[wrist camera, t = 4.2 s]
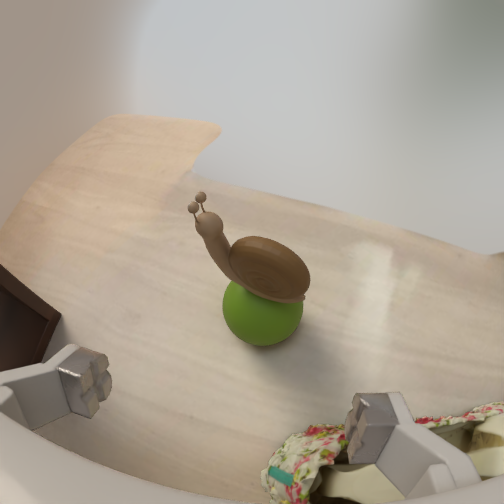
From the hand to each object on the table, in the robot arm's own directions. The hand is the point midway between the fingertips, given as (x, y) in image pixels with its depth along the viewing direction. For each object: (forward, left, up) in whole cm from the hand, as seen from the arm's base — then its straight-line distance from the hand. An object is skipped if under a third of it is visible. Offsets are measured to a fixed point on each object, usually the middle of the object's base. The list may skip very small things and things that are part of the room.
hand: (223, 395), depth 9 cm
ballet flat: (+13, -8, -13) cm, 20 cm away
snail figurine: (+2, +7, -13) cm, 15 cm away
